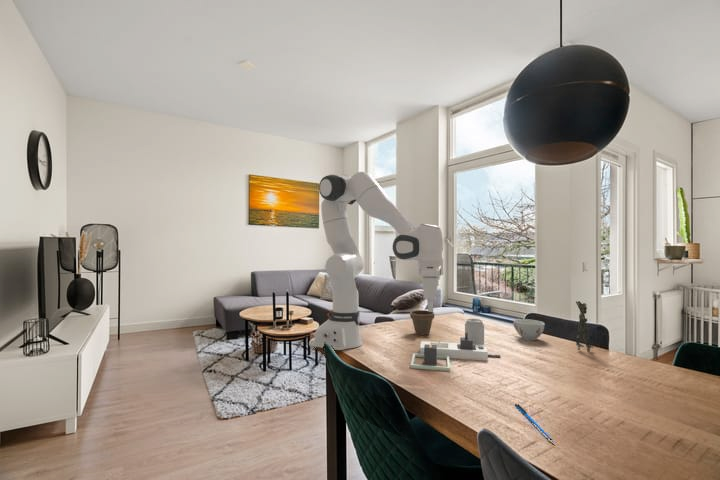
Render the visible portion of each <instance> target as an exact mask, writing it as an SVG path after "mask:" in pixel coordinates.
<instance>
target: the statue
mask: <svg viewBox="0 0 720 480" xmlns="http://www.w3.org/2000/svg"><path fill="white" fill-rule="evenodd" d="M575 304H576V305H577V307H578V310H579V312H580V313H579V315H578V319H579V322H578V325H577V334H576V336H575V337H576V339H575V340H576V342H575V344H576V347H577V351H581V348H583V347H586V350H587V352H590V351H591V348H592V349H593V348H595V347H594V346H592V345H590V344H589V341H588V337H587V328H586V323H587V322H588V318H587V317H585V316H586V315H585V314H587V311H588V306H587V303H586V302H585V303H584V302H583V303H582V302H581V300H580V301H577V300H576V301H575ZM581 335H582V337H583V341H584V343H585V345H584V344H581V343H580V338H581Z"/></svg>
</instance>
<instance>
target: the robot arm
mask: <svg viewBox="0 0 720 480" xmlns="http://www.w3.org/2000/svg"><path fill="white" fill-rule="evenodd" d="M318 191H319V194H320V197H321V198H322V199H323V200H322V201H321V204H320V205H321V206H320V208H321V210H320V211H321V220H322V225H323V228H324V229H323V230H324V234H325V237H326V242H327V244H328V245H329V247H331V250H332V251H333V254H332V255H331V256H330V257H328V258H327V260H326V262H325V265H324V268H325V272H326V274H327V276H329V281H330V282H329V283H330V287H331V291H332V292H331V293H332V308H331V310H330V311H329V312H328V313H327V317H328V319H327V320H326V321H324V322H323V323H322V324H321V325H320V326H318V327H317V328H316V331H315V333H314V337H312V338H311V339H310V340H309V343H308V345H309V347H314V348H321V349H324V348H323V346H324V342H327V343H329V344H331V345H332V346H333V348H334V349H333V350H335V351H343V350H348V349H353V348H354V349H355V348H359V347H361V346H362V345H363V342H362V338H361V333H360V332H361V330H360V321H361V313H360V310H359V303H360V302H359V296H360V295H359V291H358V288H357V286H356V279H355V277H357V276H358V275H359V274H361V272H362V271H363V269H364V267H365V261H364V258H363V257H362V256H361V254H360V252H359V250H358V246H357V244H356V242H355V240H354V236H353V233H352V230H351V225H350V221H349V216H348V212H347V206H348V205H350V206H352V205H353V204H355V203H356V202H357V204H358V205H359V207H360V208H361V210H362V211H363V212H364V213H366V214H367V215H368V217H371V218H374V219H377V220H379V221H380V220H381V221H382V222H384V223H386V224H388V225H390V226H391V227H392V228H393V229H394V230H395V231H396V232H397V234H398V235H397V236H396V237H395V238H394V239H393V243H392V252H393V255H394V256H395V258H398V259H399V260H402V261H417V275H419V276H420V277H421V282H422V290H423V297H424V300H427V301H426V302H427V303H426V304H427V311H429V312H434V304H435V303H434V302H435V300H436V299H437V293H438V284H439V280H440V279H441V276H443V275H444V259H443V250H444V242H443V241H444V240H443V232H442V229H441V228H440V227H439V226H438V225H434V224H427V223H421V224H419V225H418V226H416V228H415V226H414V225H413V224H412V223H411V222H410V221H409V220H408V218H407V217H406V216H405V215H404V214H403V213H402V212H401V211H400V210H399V208H398V207H397V206H396V204H395V203H394V202H393V201H392V200H391V198H390V197H389V196H388V194H387V193H386V192H385V190H384V189H383V188H382V187H381V185H380V184H379V183H378V182H377V181H376V180H375V179H374V178H373V177H372V176H371V175H370V174H369V173H368V172H365V171H358V172H355V173H354V174H353V175H349V174H329V175H325V176H324V177H322V178H321V179H320V181H319V184H318Z"/></svg>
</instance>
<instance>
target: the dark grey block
mask: <svg viewBox="0 0 720 480" xmlns="http://www.w3.org/2000/svg"><path fill="white" fill-rule="evenodd" d="M423 359H424V360H423V361H424V362H423V365H430V366H438V365H437V364H438V362H437V361H438V358H437V345H427V344H425V346H424V357H423Z"/></svg>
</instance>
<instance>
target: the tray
mask: <svg viewBox="0 0 720 480" xmlns="http://www.w3.org/2000/svg"><path fill="white" fill-rule="evenodd" d="M411 356H412V357H411V361H410V369H421V370H432V371H433V370H435V371H442V372H443V371H445V372H451V364H450V362H451V361H450V358H449V356H446V355H437V360H438V359H442V360H446V364H447V365H446V366H444V365H443V366H442V365H441V366H439V365H437V366H436V365H424V364H416V363H415V360H416V358H424V354H420V353H414V352H413V353H412V355H411Z"/></svg>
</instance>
